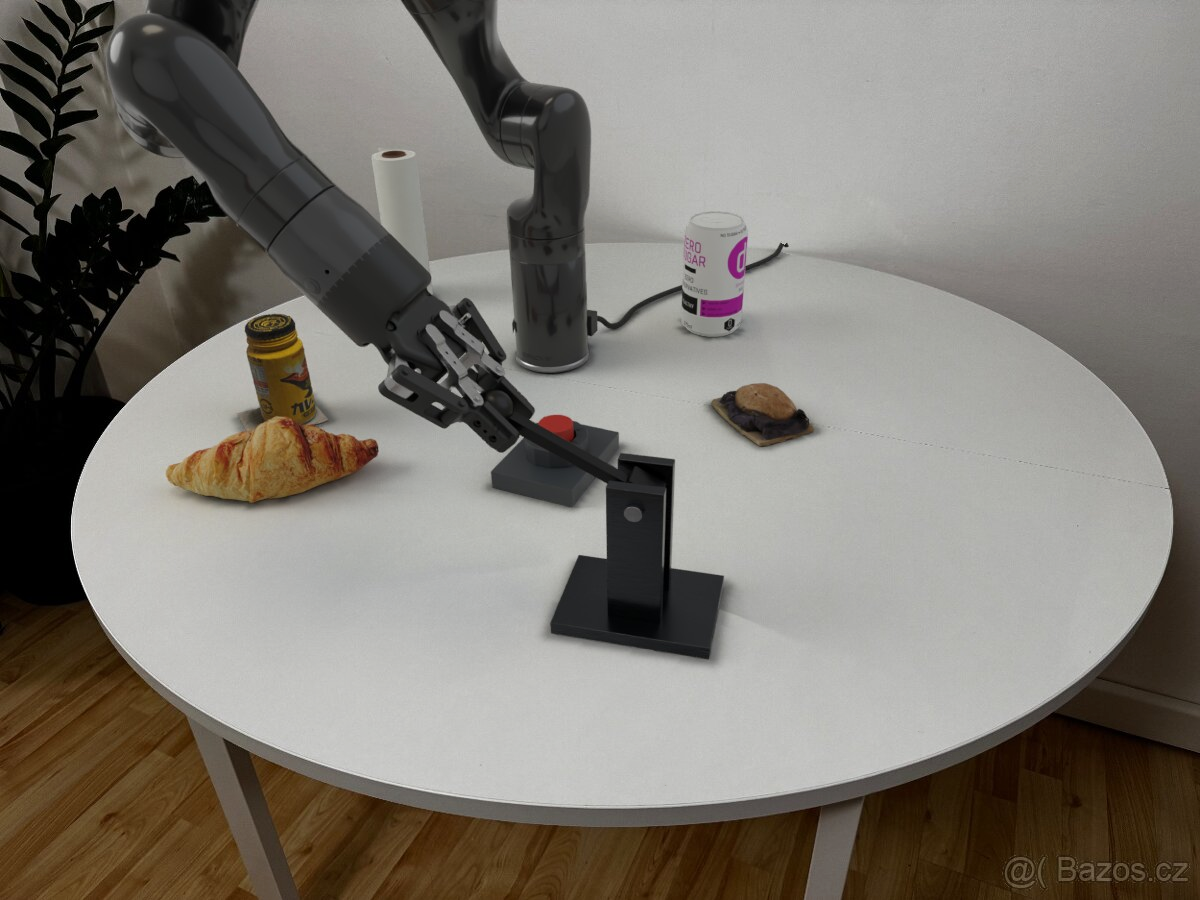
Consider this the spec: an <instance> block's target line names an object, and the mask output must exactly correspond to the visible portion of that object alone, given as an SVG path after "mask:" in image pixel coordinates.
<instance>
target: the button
mask: <svg viewBox="0 0 1200 900" xmlns="http://www.w3.org/2000/svg"><path fill="white" fill-rule="evenodd" d="M543 417H544V418H543ZM543 417H542V418H540V419H539V420H538V422H537V423H538V425H540V426H542V427H544V428H545V429H547V430H549V431H551V432H553V433H554V434H556V435H558V436H560V437H561V438H563V439H565V440H567V441H569V442H571V441H572V440H573V438H574V431H573V421H574V420H573V419H572V418H571V417H569V416H567V415H563V414H550V415H546V416H543Z"/></svg>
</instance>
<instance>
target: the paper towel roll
mask: <svg viewBox="0 0 1200 900" xmlns="http://www.w3.org/2000/svg"><path fill="white" fill-rule="evenodd" d="M417 158H418V157H417V153H416V152H415V151H413V150H409V149H402V148H383V147H378V151H377V152H375V153H373V154H371V164H372V170H373V177H374V178H373V179H374V185H375V193H376V197H377V198H376V200H377V205H378V211H379V212H378V213H379V217H380V224H381V225H382V226H383V227H384V228H385V229H386V230H387V231H388V232H389V233H390V234H391V235H392V236H393V237H394V238H395V239H396V240H397V241H398V242H399V243H400V244H401V245H402V246H403V247H404V248H405V249H406V250H407V251H408V252H409V253H410V254H411V255H412V256H413V257H414V258H415V259H416V260H417V261H418V262H419V263H420V264H421V265H422V266H423V267H424V268H425V269H426V270H427V271H428V272H429V273H430V274H431V268H430V267H431V266H430V265H431V264H430V258H429V250H428V249H429V248H428V240H427V233H426V232H427V231H426V226H425V218H424V209H423V200H422V193H421V185H420V184H421V183H420V175H419V166H418V159H417ZM432 282H433V281H431V283H430V284H429V285H428V287H427V290H428V292H429V293H431V294H432V295H433V296H434V292H433V291H434V290H433V284H432Z"/></svg>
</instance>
